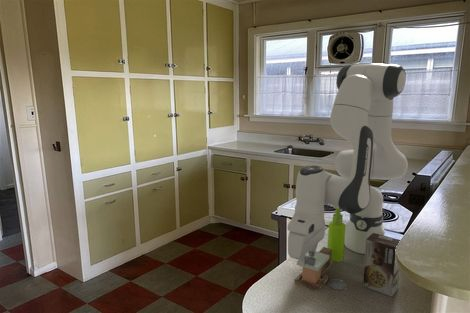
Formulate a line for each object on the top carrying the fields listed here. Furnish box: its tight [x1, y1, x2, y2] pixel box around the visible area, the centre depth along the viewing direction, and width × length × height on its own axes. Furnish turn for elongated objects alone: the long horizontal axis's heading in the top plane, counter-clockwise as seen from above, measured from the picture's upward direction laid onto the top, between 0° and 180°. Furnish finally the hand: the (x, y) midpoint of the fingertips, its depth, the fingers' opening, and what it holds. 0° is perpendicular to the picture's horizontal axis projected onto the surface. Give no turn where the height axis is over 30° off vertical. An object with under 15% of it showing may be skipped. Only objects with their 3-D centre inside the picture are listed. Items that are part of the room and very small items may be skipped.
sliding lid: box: [296, 251, 330, 271], centre depth 108 cm, size 10×7×3 cm
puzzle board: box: [294, 246, 332, 291], centre depth 112 cm, size 18×8×6 cm, turn 144°
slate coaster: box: [327, 278, 347, 291], centre depth 107 cm, size 6×6×1 cm
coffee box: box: [362, 233, 401, 297], centre depth 104 cm, size 9×6×16 cm
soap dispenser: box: [326, 207, 346, 262], centre depth 123 cm, size 6×7×20 cm
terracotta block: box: [301, 267, 321, 285], centre depth 108 cm, size 4×4×6 cm
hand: (307, 260), depth 105 cm, fingers open, 6 cm apart
